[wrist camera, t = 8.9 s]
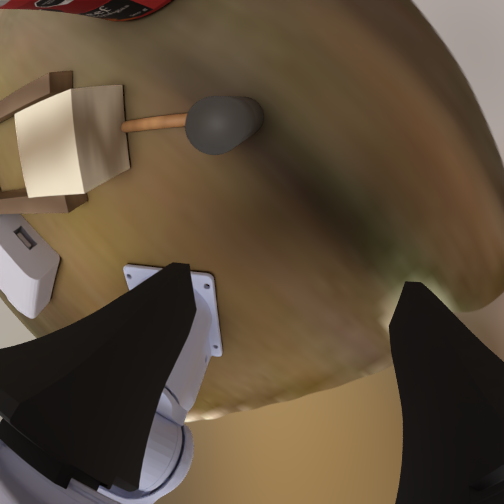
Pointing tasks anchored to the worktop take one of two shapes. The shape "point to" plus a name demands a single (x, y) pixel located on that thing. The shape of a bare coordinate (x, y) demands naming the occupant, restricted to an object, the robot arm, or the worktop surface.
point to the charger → (25, 265)
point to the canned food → (91, 7)
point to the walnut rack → (9, 107)
